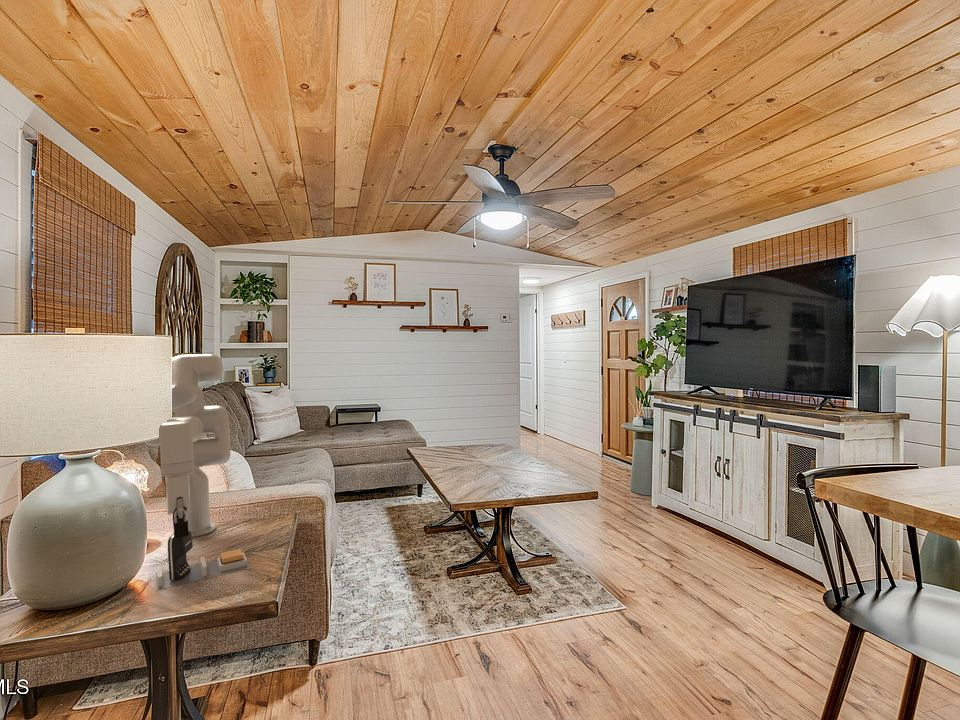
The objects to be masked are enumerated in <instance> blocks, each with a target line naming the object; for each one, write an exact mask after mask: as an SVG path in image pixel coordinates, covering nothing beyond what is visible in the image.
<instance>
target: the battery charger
mask: <svg viewBox="0 0 960 720" xmlns="http://www.w3.org/2000/svg"><path fill="white" fill-rule="evenodd" d="M188 534H189V535H188V536H186V537H181V538H174V534H172V535H170V537H169V538H168V540H167V559H168V560H167V561H168V571H169V579H170V580H177V579H182V578H183V577H185V576H186V575H187V574H188V573H189V572H190V570H191V568H190V566H191V565H189V563H188V560H187V553H189V551H191V550H192V549H193V544H194V543H193V537H192V534H191V532H190V531H188Z"/></svg>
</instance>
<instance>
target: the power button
mask: <svg viewBox="0 0 960 720" xmlns="http://www.w3.org/2000/svg"><path fill="white" fill-rule="evenodd" d="M220 557H221V559H222V562H223V563H226V562H231V561H235V560H239V559H243V554H242V549H241V548H238V549H233V550H229V551H223V552H221V553H220Z"/></svg>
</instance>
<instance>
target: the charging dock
mask: <svg viewBox="0 0 960 720" xmlns="http://www.w3.org/2000/svg"><path fill="white" fill-rule="evenodd" d="M242 554H243V559H239V560H235V561H231V562H226V563H223V562H222V559H221V556H219V557H217V558H216V559H215V560H211V561H206V558H205V556H201V557H199V558H200V560H199V562H200V563H197V564H193V565H189V566H190V568H191V570H190V572H189V573H188V574H187V575H186V576H185V577H183V578H182V579H177V580H170V579H169V570H166V571H163V565H158V566H157V573H155V591H160V590H161V591H162V590H165V589H169V588H174V587H178V586H181V585H185V584H190V583H195V582H198V581H203V580H208V579H211V578H216V577H220V576H221V577H222V576H225V575H229V574H232V573H233V574H234V573H236V572H241V571H245V570H249V569H252V567H251V565H250V563H249V560H248V559H247V555H246V554H245V552H244V551H243V552H242Z"/></svg>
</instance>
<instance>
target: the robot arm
mask: <svg viewBox="0 0 960 720" xmlns="http://www.w3.org/2000/svg"><path fill="white" fill-rule="evenodd" d="M171 358H172V411H171V412H174V413H175V416H170V417H171V418H169V419H168V420H167V422H165V423H163V424H161V425H160V428H159V439H156V440H152V441H149V442H144V443H145V444H146V445H148V446H150V447H159V454H160V457H159V458H160V471H161V472H160V473H161V474H160V475H161V477H165V491H166V494H165V496H166V509H167V514H168V515H169V516H171V514H172V524H173V525H172V526H173V532H172V533H173V534H174V538H181V537H186V536H188V535H189V534H188V531H190V532H191V534H192V538H196V537H200V536H204V535H207V534H209V533H212V532H213V531H214V530H215V529H216V524H215V523H214V522H211V510H210V509H211V507H210V506H211V505H210V488H209V487H210V486H209V482H210V481H209V477H208V475H207V474H206V473H205V472H204V471H203V470H202V467H208V466H209V467H210V466H218V465H223V464H226V463H228V462H229V460H230V458H231V439H230V437H231V435H230V420H229V414H228V411H227V408H226V407H224V406H222V405H207V406H206V405H205V403H204V391H203V390H202V389H201V388H200V386H199V382H214V381H215V382H218V381H219V380H220V379H221V378H222V376H223V370H224V369H223V368H224V367H223V366H224V365H223V361H222V360H221V358H220V357H219V356H218V355H216V354H211V353H204V354H179V355H177V356H174V357H171ZM210 434H212V435H214V436H215V437H214V436H213V437H204V438H203V437H202V435H210ZM173 534H172V535H173Z"/></svg>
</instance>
